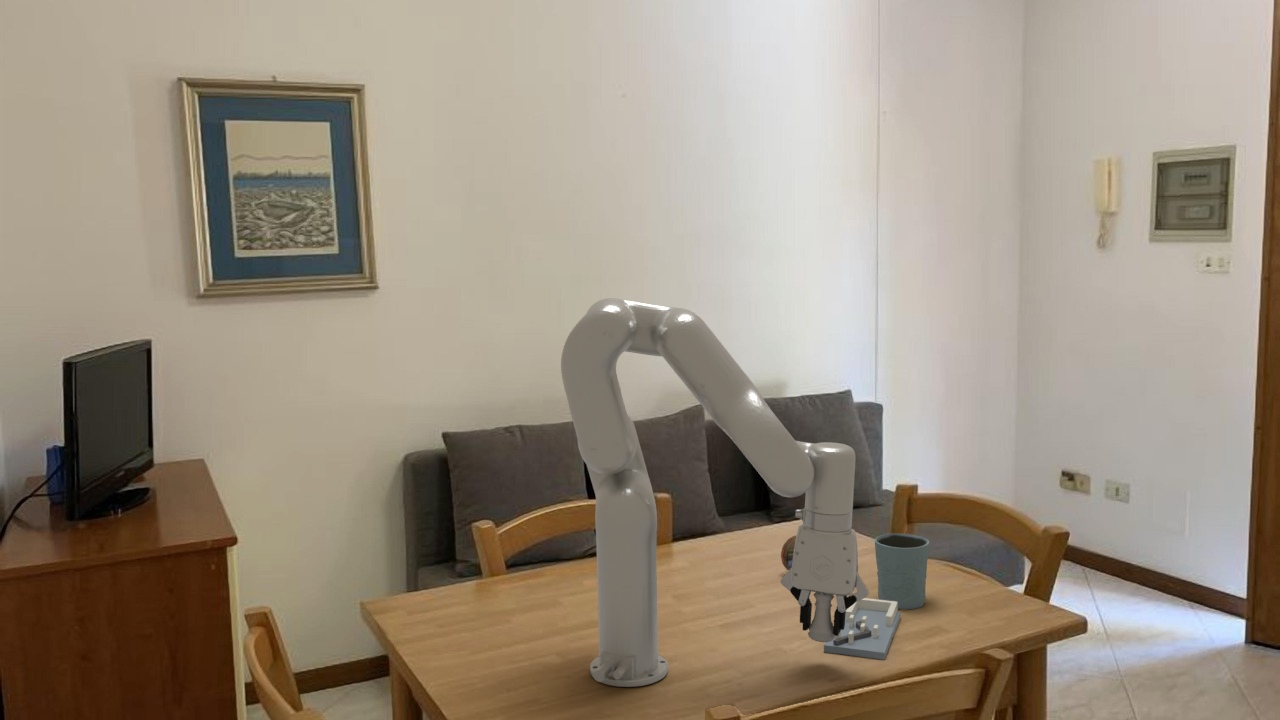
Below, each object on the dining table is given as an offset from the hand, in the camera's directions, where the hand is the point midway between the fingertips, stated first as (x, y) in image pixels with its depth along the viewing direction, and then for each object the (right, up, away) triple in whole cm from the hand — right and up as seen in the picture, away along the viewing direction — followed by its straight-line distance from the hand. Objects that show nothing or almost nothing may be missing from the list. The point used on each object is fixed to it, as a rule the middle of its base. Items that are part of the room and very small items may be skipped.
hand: (821, 629), depth 167 cm
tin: (+7, -1, +48) cm, 48 cm away
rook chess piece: (0, -2, 0) cm, 2 cm away
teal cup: (+20, -3, +30) cm, 36 cm away
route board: (+10, -4, +14) cm, 17 cm away
